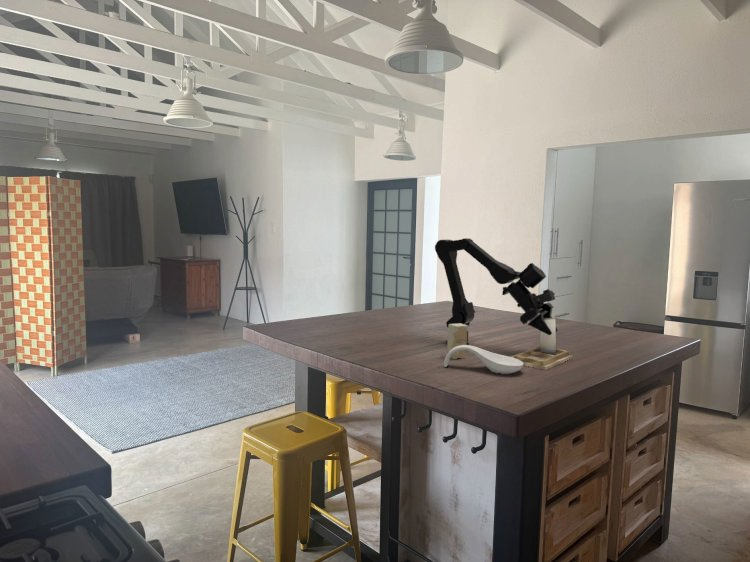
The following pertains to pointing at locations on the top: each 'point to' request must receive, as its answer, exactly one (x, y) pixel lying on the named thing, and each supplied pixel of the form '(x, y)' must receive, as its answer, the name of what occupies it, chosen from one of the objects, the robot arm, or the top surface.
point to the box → (457, 339)
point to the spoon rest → (489, 359)
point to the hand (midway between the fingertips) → (553, 332)
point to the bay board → (542, 358)
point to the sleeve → (549, 338)
